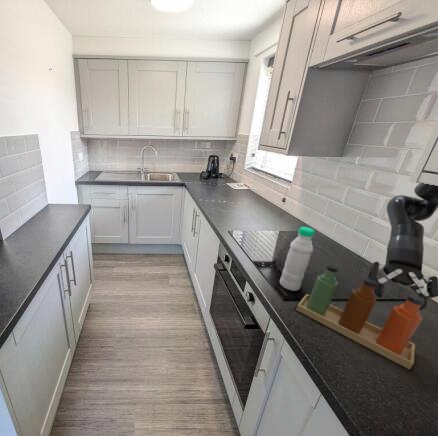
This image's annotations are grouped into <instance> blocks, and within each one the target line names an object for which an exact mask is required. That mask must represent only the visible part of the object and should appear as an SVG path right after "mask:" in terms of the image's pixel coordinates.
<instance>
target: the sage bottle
mask: <svg viewBox="0 0 438 436" xmlns="http://www.w3.org/2000/svg"><path fill="white" fill-rule="evenodd" d="M338 271H339V267H338V266H336V265H334V264H330V263H329V264H327V265H326V267H325V271H324V273H321V274H320V275H317V277H316V279H315V283H314V285H313V288H312V291H311V293H310V295H311V296H310V298H309V301H308V304H307V309H309V310H311V311H313V312H315V313H317V314H319V315H321V316H324V315H325V314H326V312H327V309H328V307H329V304H330V305H331V302H332V300H333V297H334V294H335V293H336V290H337V287H338V284H339V282H338V281H337V278H336V275H337V272H338Z"/></svg>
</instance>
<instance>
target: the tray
mask: <svg viewBox="0 0 438 436" xmlns="http://www.w3.org/2000/svg"><path fill="white" fill-rule="evenodd" d="M310 296H311V294H309V293H306V294H305V295H304V296H303V297H302V298H301V300H300V301H299V302H298V304H297V305H296V309H295V310H296V311H297V312H299V313H301V314H302V315H305V316H307V317H309V318H311V319H312V320H315V321H316V322H319V323H320V324H322V325H324V326H326V327H328V328H330V329H331V330H333V331H335V332H337V333H339V334H341V335H342V336H345V337H346V338H348V339H350V340H352V341H354V342H356V343H358V344H360V345H362V346H364V347H366V348H368V349H370V350H371V351H373V352H375V353H377V354H378V355H381V356H383V358H384V357H385V358H386V359H388V360H390V361H392V362H394V363H395V364H398V365H399V366H402V367H404V368H405V369H407V370H411V369H412V368H413V366H414V364H415V351H416V344H415V343H413V342H411V341H409V342H408V343H407V345H406V347H405V348H404V350H403V351H402V353H401V354H400V355H398V354H396V353H394V352H392V351H390V350H388V349H386V348H384V347H382V346H380V345H378V344H377V343H376V341H375V340H376V338H377V336H378V335H379V333H380V331H381V329H382V327H380V326H377V325H375V324H373V323H371V322H369V321H367V320H366V322H365V324H364V326H363V328H362V330H361V332H360V333H359V334H357V333H355V332H353V331H351V330H349V329H347V328H345V327H343V326H341V325H339V323H338V322H339V319H340V317H341V315H342V313H343V311H344V309H341V308H339V307H336V306H335V305H332V304H331V303H330V304H329V307H328V309H327V312H326V314H325V315H324V316H321V315H319V314H317V313H315V312H313V311H311V310H309V309H307V304H308V301H309V298H310Z"/></svg>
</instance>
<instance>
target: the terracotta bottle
mask: <svg viewBox="0 0 438 436" xmlns="http://www.w3.org/2000/svg"><path fill="white" fill-rule="evenodd" d="M423 303H424V299H423V298H421V297H419V296H418V295H417V294H413V293H411V294H410V293H409V294H408V295H407V297H406V300H405V301H404V304H403V303H402V304H399V305H394V306H393V307H392V309H391V311H390V313H389V314H388V316H387V318H386V320H385V322H384V324H383V325H382V327H381V331H380V333H379V335H378V336H377V338H376V340H375V341H376V343H377V344H378V345H380V346H382V347H384V348H386V349H388V350H390V351H392V352H394V353H396V354H398V355H400V354H401V353H402V351H403V350H404V348H405V347H406V345H407V343H408V342H410V341H411V339H412V337H413V335H414V334H415V332H416V331H417V329H418V328H419V326H420V324H421V322H422V321H423V317H422V316H421V312H420V310H419V308H420V306H421V305H422V304H423Z"/></svg>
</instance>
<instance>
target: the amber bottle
mask: <svg viewBox="0 0 438 436" xmlns="http://www.w3.org/2000/svg"><path fill="white" fill-rule="evenodd" d="M377 284H378V283H377V282H376V281H375V280H373V279H370V278H368V277H364V279H363V281H362V285H361V286H360V287H358V288H355V289H352V291H351V293H350V295H349V298H348V299H347V302H346V303H345V306H344V308H343V313H342V315H341V317H340V319H339V322H338V323H339V325H341V326H343V327H345V328H347V329H349V330H351V331H353V332H355V333H357V334H359V333H360V332H361V330H362V328H363V326H364V324H365V322H366V321H367V320H368V318H369V315H370V314H371V312H372V310H373V308H374V306H375V304H376V302H377V298H376V296H375V293H374V290H375V287H376V286H377Z"/></svg>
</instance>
